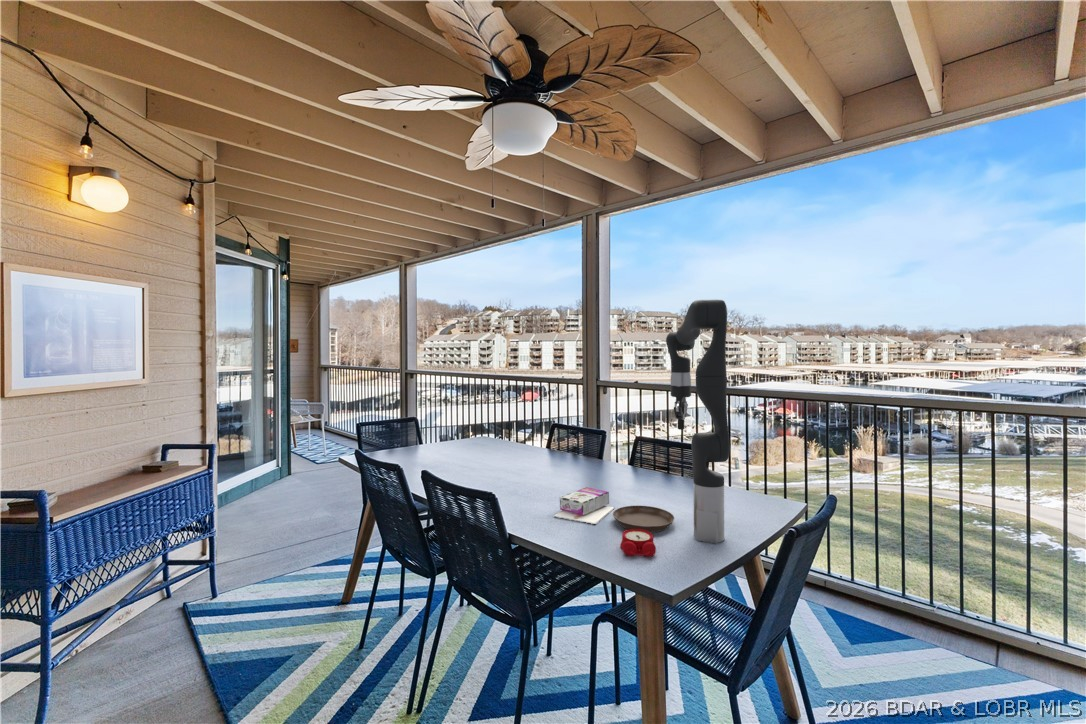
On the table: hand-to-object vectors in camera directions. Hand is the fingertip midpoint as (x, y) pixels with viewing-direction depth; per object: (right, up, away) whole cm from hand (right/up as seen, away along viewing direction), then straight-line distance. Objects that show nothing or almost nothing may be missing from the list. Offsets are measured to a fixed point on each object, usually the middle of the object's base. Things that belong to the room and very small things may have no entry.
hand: (681, 429), depth 180 cm
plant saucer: (-18, -30, -18) cm, 40 cm away
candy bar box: (-31, -26, +3) cm, 41 cm away
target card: (-38, -30, -7) cm, 49 cm away
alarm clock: (-24, -31, -39) cm, 56 cm away
